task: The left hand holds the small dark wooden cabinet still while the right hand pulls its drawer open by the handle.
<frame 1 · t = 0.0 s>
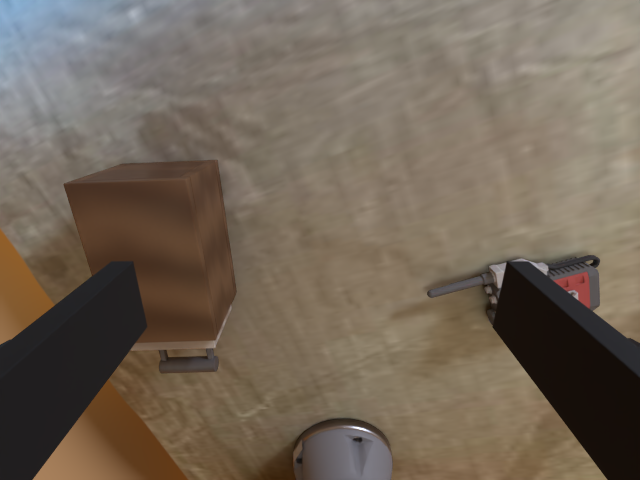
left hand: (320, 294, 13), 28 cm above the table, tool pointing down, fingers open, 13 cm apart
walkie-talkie: (507, 288, 45), on the table
cabinet: (183, 232, 42), on the table
drawer: (176, 291, 39), point 5 cm above the table, slide at 0.5 cm
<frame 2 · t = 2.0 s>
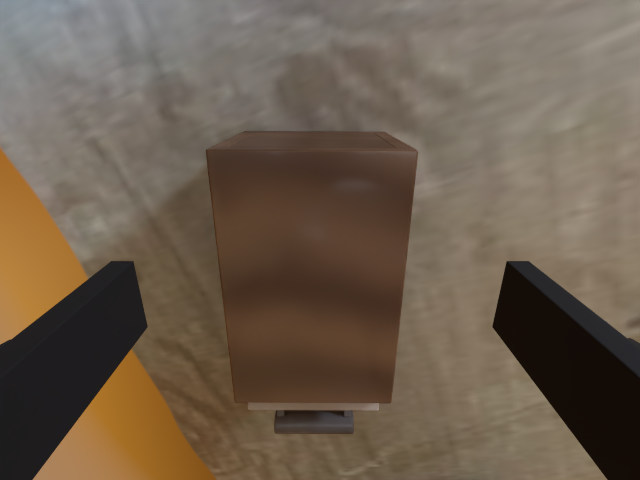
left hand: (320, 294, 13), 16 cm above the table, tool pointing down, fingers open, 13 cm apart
cabinet: (314, 235, 29), on the table
drawer: (314, 320, 27), point 5 cm above the table, slide at 0.5 cm
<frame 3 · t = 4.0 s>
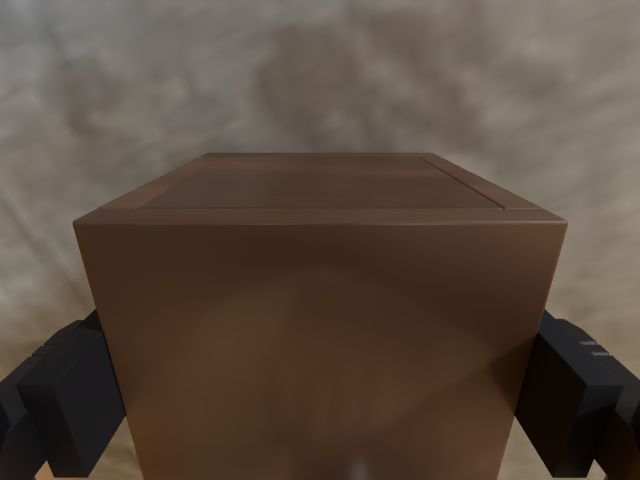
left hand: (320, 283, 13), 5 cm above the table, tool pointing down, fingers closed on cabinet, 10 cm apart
cabinet: (320, 306, 19), on the table, touching left hand
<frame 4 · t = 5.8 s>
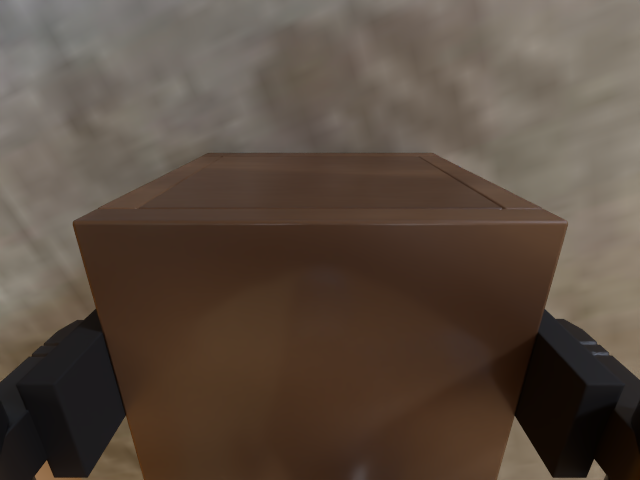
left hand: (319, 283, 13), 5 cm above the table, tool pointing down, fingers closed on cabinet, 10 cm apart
cabinet: (320, 306, 19), on the table, touching left hand
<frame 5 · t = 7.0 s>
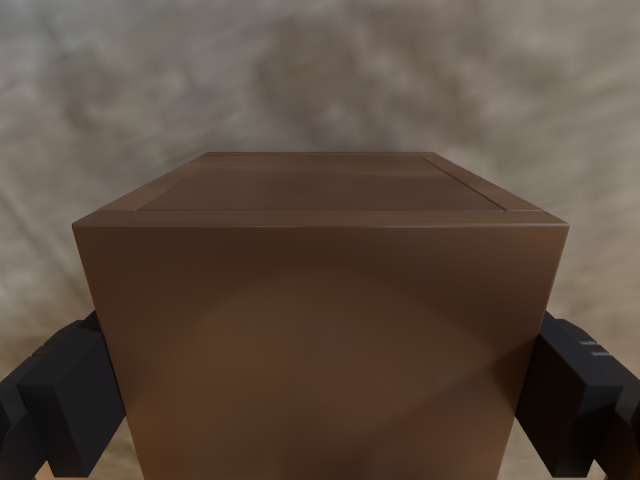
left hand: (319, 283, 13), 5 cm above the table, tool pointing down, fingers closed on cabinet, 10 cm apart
cabinet: (320, 305, 19), on the table, touching left hand
when the left hand's fingers open (5 cm above the table, at t = 9.0 s): cabinet stays where it is, on the table.
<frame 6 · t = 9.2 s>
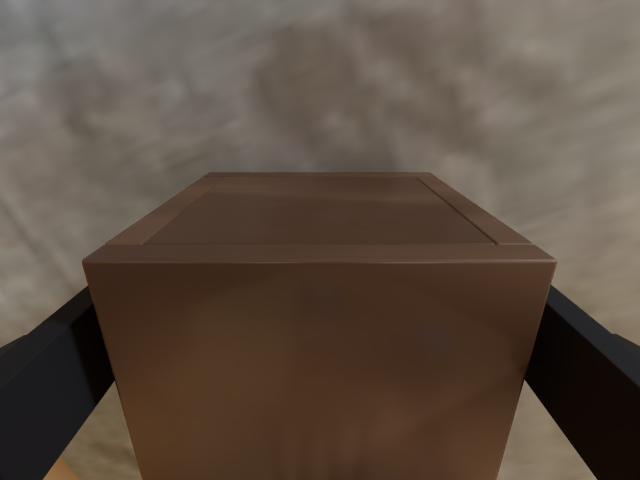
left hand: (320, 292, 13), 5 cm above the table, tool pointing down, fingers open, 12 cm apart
cabinet: (319, 320, 20), on the table
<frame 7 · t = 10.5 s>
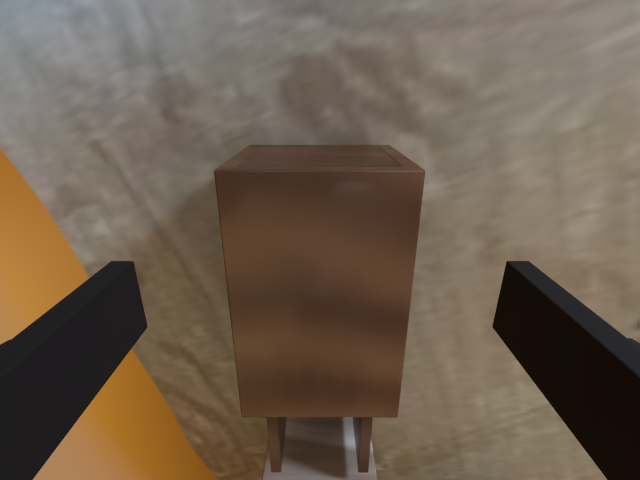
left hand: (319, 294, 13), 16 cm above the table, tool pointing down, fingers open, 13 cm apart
cabinet: (319, 247, 29), on the table
drawer: (319, 413, 30), point 5 cm above the table, slide at 8.7 cm
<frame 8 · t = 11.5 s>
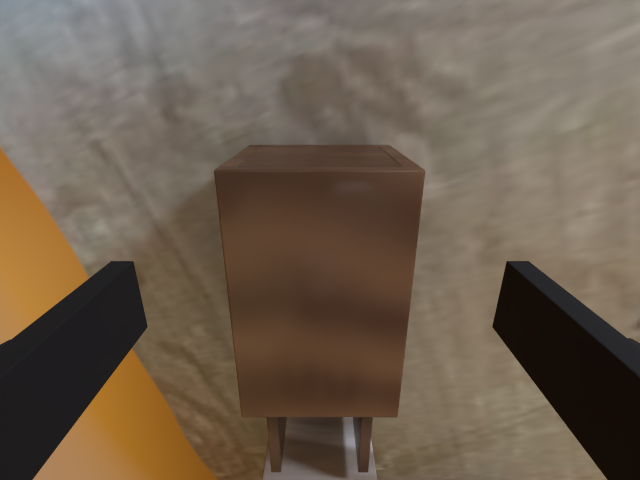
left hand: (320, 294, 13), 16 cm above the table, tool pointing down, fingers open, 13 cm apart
cabinet: (319, 247, 29), on the table
drawer: (319, 413, 30), point 5 cm above the table, slide at 8.7 cm
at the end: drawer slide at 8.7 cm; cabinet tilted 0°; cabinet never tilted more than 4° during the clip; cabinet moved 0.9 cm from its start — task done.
